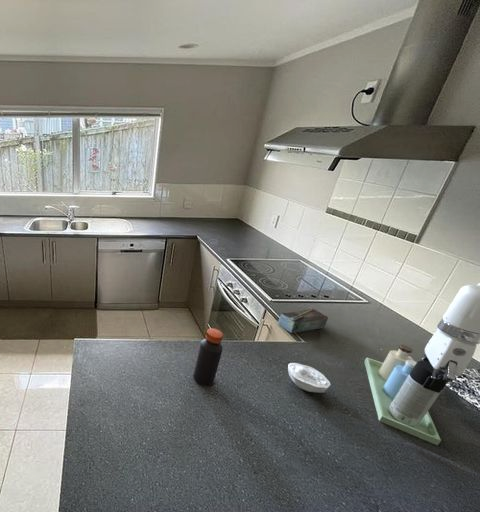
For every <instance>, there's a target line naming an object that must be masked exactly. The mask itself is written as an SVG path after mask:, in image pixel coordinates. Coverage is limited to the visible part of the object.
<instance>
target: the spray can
mask: <svg viewBox="0 0 480 512" xmlns="http://www.w3.org/2000/svg"><path fill="white" fill-rule="evenodd" d="M416 362H417V363H416V365H415V366H414V368H413V369H412V371H411V372H410V374H409V375H408V377H407V379H406V380H405V382H404V384H403V385H402V387H401V388H400V390H399V392H398V393H397V395H396V397H395V398H394V400H393V401H392V403H391V405H390V406H389V409H388V412H389V413H390V415H391V416H392V417H394V418H395V419H396V420H397V421H399V422H401V423H403V424H405V425H408V426H417V425H418V424H419V423H420V421H421V420H422V419H423V417H424V416H425V414H426V413H427V411H428V412H429V410H430V409H431V407H432V405H434V403H435V401H436V400H437V399H438V397H439V396H440V394H441V393H442V392H443V390H444V389H445V387H446V385H447V384H448V383H446V385H445V386H444V387H443V389H442V390H441V392H440V393H437V392H434V391H431V390H428V389H426V388H424V387H423V384H424V383H425V381H426V380H427V378H428V377H429V376H432V373H433V370H434V367H433V366H432V365H431V363H430V361H424V360H423V361H421V360H418V361H416ZM440 369H443V370H446V368H443V367H440ZM444 374H445V373H444V372H441V371H439V372H438V375H444Z"/></svg>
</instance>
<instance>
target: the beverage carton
mask: <svg viewBox="0 0 480 512" xmlns="http://www.w3.org/2000/svg"><path fill="white" fill-rule="evenodd" d="M328 319H329V316H327V315H325V314H324V313H322V312H320V311H318V310H316V309H315V308H309V309H303V310H295V311H290V312H281V313H280V316H279V318H278V322H277V323H278V325H279V326H280V327H282V328H283V329H285V330H286V331H288V332H289V333H291V334H295V333H300V332H307V331H308V332H309V331H313V330H314V331H315V330H320V329H325V328H326V324H327V322H328Z"/></svg>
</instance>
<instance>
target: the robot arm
mask: <svg viewBox="0 0 480 512" xmlns="http://www.w3.org/2000/svg"><path fill="white" fill-rule="evenodd" d="M456 293H457V294H456V295H455V296H454V298H453V300H452V301H451V303H450V304H449V306H448V308H447V309H446V310H445V312H444V314H443V316H442V317H441V319H440V321H439V322H438V324H437V325H436V327H435V329H436V331H435V332H434V334H432V336H431V337H430V339H429V340H428V342H427V344H426V345H425V346H424V347H425V348H424V355H422V357H421V359H420V361H430V363H431V365H432V366H433V367H434V370H433V373H432V376H429V377H428V378H427V380H426V381H425V383H424V384H423V387H424V388H426V389H428V390H431V391H434V392H437V393H440V392H441V393H442V391H443V390H444V388H445V387H446V385H447V384H449V383H450V382H452V381H455V380H456V377H461V376H462V375H463V374H464V372H465V370H466V369H467V367H468V366H469V364H470V362H471V360H472V359H473V356H474V354H475V353H476V350H477V345H479V344H480V282H479V283H477V284H466V285H463V286H462V287H460V289H459V290H458V292H456ZM440 367H443V368H446V370H443V369H440ZM439 371H441V372H444V373H445V374H444V375H438V372H439ZM446 383H447V384H446ZM444 386H445V387H444ZM443 387H444V388H443ZM442 389H443V390H442ZM441 390H442V391H441ZM441 393H440V394H441Z"/></svg>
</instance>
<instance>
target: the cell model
mask: <svg viewBox="0 0 480 512" xmlns="http://www.w3.org/2000/svg"><path fill="white" fill-rule="evenodd" d="M287 373H288V376H289V377H290V379H291V381H292V382H293V383H294V385H295V386H296V387H297V388H298V389H301V390H304V391H306V392H309V393H325V392H326V391H327V389H328V388H329V387H330V386H331V382H330V380H328V378H327V377H326V376H325V375H324V374H323V373H322V372H320V371H318V370H317V369H316V368H314V367H312V366H310V365H305V364H302V363H298V362H290V363H288V365H287Z"/></svg>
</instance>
